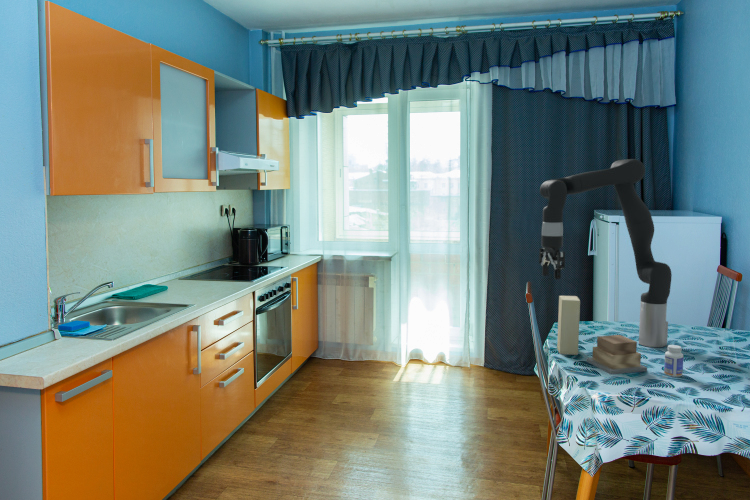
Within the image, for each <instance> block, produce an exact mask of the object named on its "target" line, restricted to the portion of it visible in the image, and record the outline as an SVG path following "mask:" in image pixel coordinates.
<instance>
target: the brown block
mask: <svg viewBox="0 0 750 500" xmlns="http://www.w3.org/2000/svg"><path fill="white" fill-rule="evenodd" d="M596 339H597V341H596V346H592V357H591V358H592V359H593V360H595V361H597V362H599V363H601V364H603V365H605V366H607V367H609V368H611V369H619V368H629V367H640V364H641V361H642V359H641V358H642V357H641V356H642V354H641V353H640V352H639V351H637V347H638V342H637V341H635V340H634V339H631V338H629V337H626V336H624V335H621V334H616V335H615V334H614V335H602V336H601V335H600V336H597V338H596Z"/></svg>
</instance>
